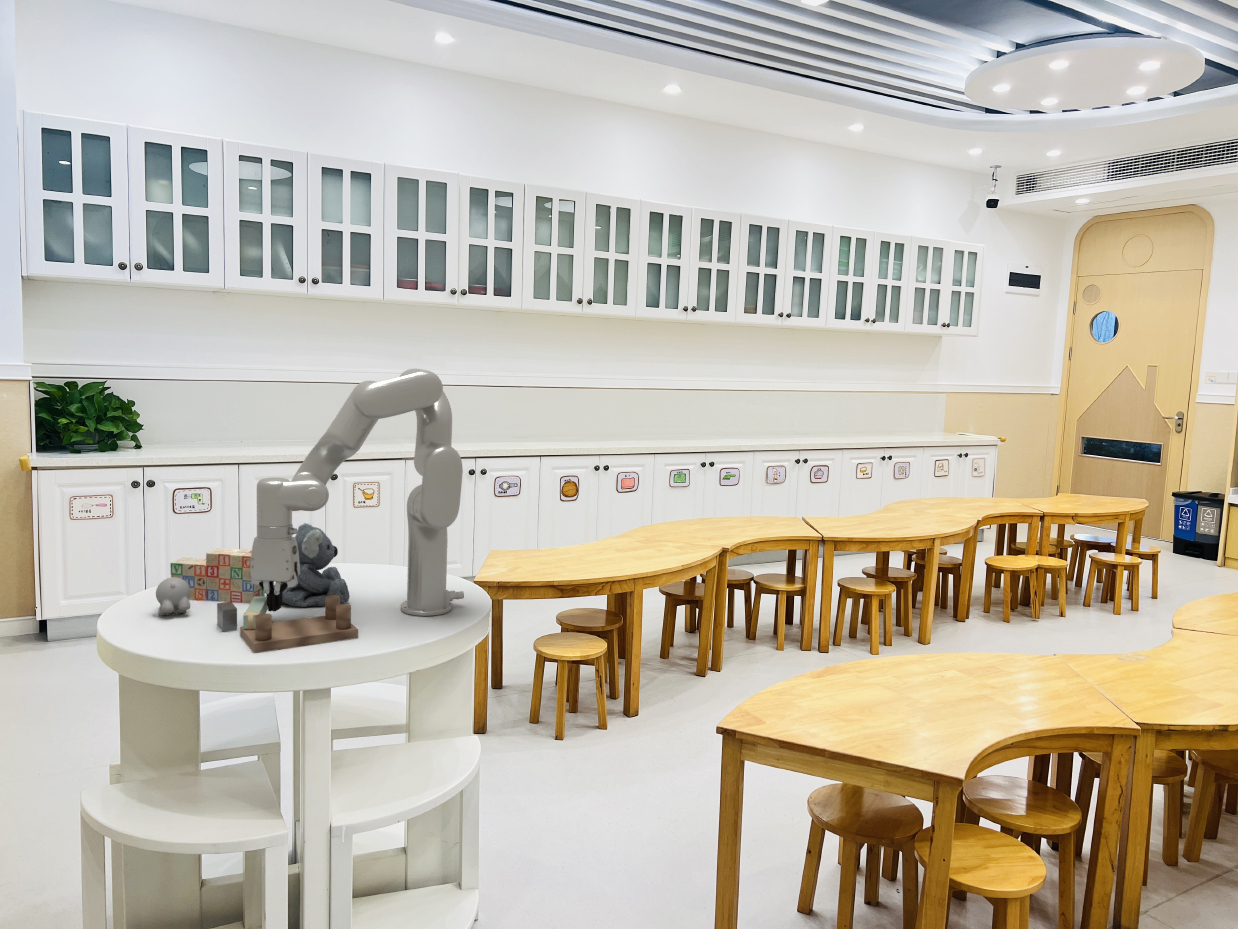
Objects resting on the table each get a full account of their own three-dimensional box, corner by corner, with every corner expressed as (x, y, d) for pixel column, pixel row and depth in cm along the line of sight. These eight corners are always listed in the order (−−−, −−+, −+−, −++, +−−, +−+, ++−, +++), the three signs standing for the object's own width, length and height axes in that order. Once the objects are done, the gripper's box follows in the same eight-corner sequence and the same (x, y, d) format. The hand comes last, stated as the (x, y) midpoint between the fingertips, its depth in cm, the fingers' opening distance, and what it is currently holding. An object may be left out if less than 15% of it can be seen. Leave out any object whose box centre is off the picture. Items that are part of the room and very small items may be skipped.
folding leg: (258, 629, 192) (258, 614, 191) (242, 629, 191) (242, 615, 190) (268, 609, 206) (268, 595, 206) (253, 609, 205) (253, 596, 205)
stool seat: (339, 622, 206) (340, 593, 205) (358, 637, 196) (358, 607, 195) (240, 635, 193) (240, 604, 193) (253, 653, 183) (253, 620, 182)
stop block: (231, 622, 202) (231, 601, 201) (237, 630, 197) (237, 608, 196) (217, 624, 200) (217, 603, 199) (222, 632, 195) (222, 610, 194)
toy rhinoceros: (185, 616, 213) (183, 581, 215) (193, 610, 204) (191, 573, 206) (152, 619, 209) (150, 584, 211) (159, 613, 200) (157, 576, 201)
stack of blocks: (170, 599, 218) (169, 550, 217) (183, 592, 224) (183, 545, 223) (254, 604, 217) (254, 555, 216) (265, 597, 223) (265, 550, 222)
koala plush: (351, 607, 219) (352, 530, 216) (274, 613, 211) (274, 533, 209) (341, 589, 234) (342, 517, 232) (269, 594, 226) (269, 519, 224)
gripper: (313, 530, 203) (312, 607, 206) (251, 526, 205) (251, 603, 207) (298, 537, 196) (298, 616, 198) (234, 533, 197) (235, 612, 200)
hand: (274, 609), depth 203 cm, fingers closed
